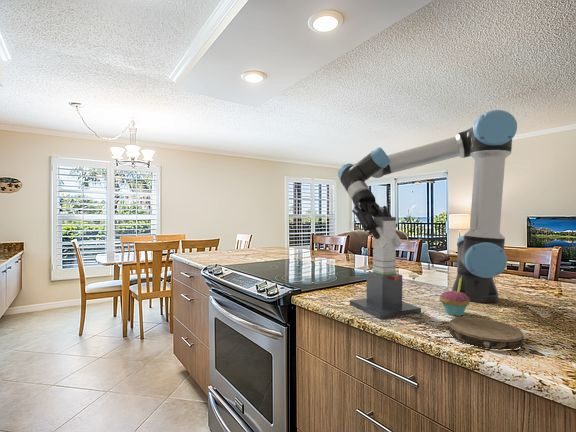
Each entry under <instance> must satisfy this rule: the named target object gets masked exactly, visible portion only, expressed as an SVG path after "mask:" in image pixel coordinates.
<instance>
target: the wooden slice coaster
mask: <svg viewBox="0 0 576 432" xmlns="http://www.w3.org/2000/svg"><path fill="white" fill-rule="evenodd" d="M450 334H451V335H452V336H453V337H454V338H456V339H457V340H456V339H455V340H456V341H458V340H459V341H461V342H460V343H462V342H464V343H467V344H470V345H474V346H478V347H482V348H489V349H516V348H519V347H522V346H523V347H524V333H523V331H522V330H520V328H517V327H516V326H514V325H511V324H508V323H505V322H501V321H498V320H494V319H490V318H482V317H470V316H468V317H467V316H465V317H462V316H459V317H455V318H452V319H450V320H449V335H450ZM451 335H450V336H451ZM452 336H451V337H452ZM453 337H452V338H453ZM454 338H453V339H454ZM459 341H458V342H459ZM464 343H463V344H464ZM467 344H466V345H467ZM470 345H469V346H470ZM523 347H522V348H523Z"/></svg>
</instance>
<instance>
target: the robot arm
mask: <svg viewBox="0 0 576 432" xmlns="http://www.w3.org/2000/svg"><path fill="white" fill-rule="evenodd" d="M517 130H518V121H517V120H516V118H515V116H514V115H513V114H511V113H510V112H508V111H506V110H502V109H493V110H489V111H487V112H484V113H483V114H481V115H480V116H479V117H477V119H475V121H474V123H473V125H472V127H470V128H468V129H467V130H463V131H461V132H458V133H456V134H455V135H454V136H452V137H449V138H445V139H442V140H438V141H434V142H432V143H428V144H424V145H421V146H416V147H413V148H409V149H406V150H402V151H399V152H396V153H392V154H387V153H386V152H385V150H384V149H383V148H382V147H377V148H376V149H374V150H371V152H369V153H368V154H367V155H366V156H364V157H363V158H362V159H360V160H359V161H358V162H357V163H355V164H354V163H350V162H349V163H346V164H343V165H341V166H340V167H339V169H338V171H337V176H338V178H339V181H340V183H341V184H342V186H343V188H344V189H345V192H346V193H347V194H348V196H349V197H350V200H351V201H352V203H353V205H354V207H353V209H352V211H351V212H352V213H353V214H354V215H355V216H356V218H357V220H358V222H359V223H360V225H361V227H362V229H363V231H364V232H367V231H368V234H369V235H372V237H373V236H374V238H375V239H377V241H378V242H379V244H380V246H381V248H384V247H385V246H386V245H387V243H388V242H387V240H386V239H385V237H384V236H383V234H382V232H381V231H380V229H379V228H376V226H375V222H374V217H393V216H392V215H391V213H390V212H389V210H388V208H387V206H386V205H383V206H380V205H379V204H378V203H377V202H376V197H375V195H374V194H373V192H372V191H371V188H370V187H369V185H368V184H367V183H366V181H367V180H369V179H370V178H375V179H379V178H383V177H384V176H387V175H391V174H394V173H398V172H402V171H405V170H406V171H407V170H411V169H413V168H417V167H421V166H422V167H423V166H426V165H429V164H434V163H437V162H442V161H446V160H450V159H454V158H457V157H458V158H461V159H465V158H468V157H471V158H472V159H473V160H474V163H473V164H474V165H473V178H472V180H473V181H472V192H471V193H472V194H471V195H472V196H471V207H470V222H469V230H468V231H467V232H465V233H464V235H460V236H458V237H457V243H456V246H457V250H456V251H457V253H456V254H457V255H456V256H457V258H456V261H457V262H456V263H457V264H456V265H457V266H456V269H457V270H456V272H457V273H456V277H455V280H454V283H453V285H452V289H451V291H458V285H459V279H460V278H461V276H462V282H461V287H460V292H462V293H464V294H466V295H467V296H468V297H469V298H470V302H473V303H485V304H486V303H488V304H489V303H490V304H491V303H496V302H499V299H500V298H499V292H498V289H497V285H496V282H495V280H494V278H495V277H498V276H499V275H501V274H502V273H503V272H504V270H505V269H506V268H507V264H508V256H507V254H506V252H505V242H506V241H505V240H506V237H505V236H504V235H503V234H502V233H501V220H502V219H501V218H502V207H503V206H502V205H503V193H504V179H505V178H504V177H505V165H506V159H507V158H508V157H509V156H510V155H511V154H512V149H513V138H514V137H515V135H516V134H517ZM397 227H398V224H397V222H396V228H397ZM402 243H403V241H402V239H401V238H400V237H399V234H398V232H397V231H396V248H397V249H398V248H399V247H400V246H401V245H402Z"/></svg>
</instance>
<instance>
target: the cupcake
mask: <svg viewBox="0 0 576 432" xmlns="http://www.w3.org/2000/svg"><path fill="white" fill-rule="evenodd" d="M461 282H462V276H461V278H460V279H459V285H458V291H452V290H447V291H445V292H442V293H441V294H440V295H439V298H438V301H439V302H441V303H442V305H443V306H444V310H445V313H446V314H447V315H449V314H450V316H454V315H456V316H455V317H462V316H463V315H464V313H465V311H466V308H467V306H469V305H471V301H470V298H469V297H468V296H467V295H466V294H464V293H462V292H460V287H461ZM461 315H462V316H461Z"/></svg>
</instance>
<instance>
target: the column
mask: <svg viewBox="0 0 576 432" xmlns="http://www.w3.org/2000/svg"><path fill="white" fill-rule="evenodd" d="M373 219H374V222H375V226H376V228H379V229H380V231H381V232H382V234H383V236H384V237H385V239H386V240H387V242H388V243H387V245H386V246H385V247H384V248H381V246H380V244H379V242H378V241H377V239H375V238H374V236H373V235H372V237H373V241H372V243H373V245H372V247H373V250H372V251H373V252H372V253H373V254H372V257H373V259H372V264H373V265H372V272H373V273H374V274H378V275H381V276H388V275H396V274H397V272H396V269H397V268H396V266H397V265H396V262H397V260H396V257H397V256H396V255H397V253H396V251H397V249H396V232H397V230H396V229H397V227H396V223H397V217H395V216H392V217H373Z"/></svg>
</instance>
